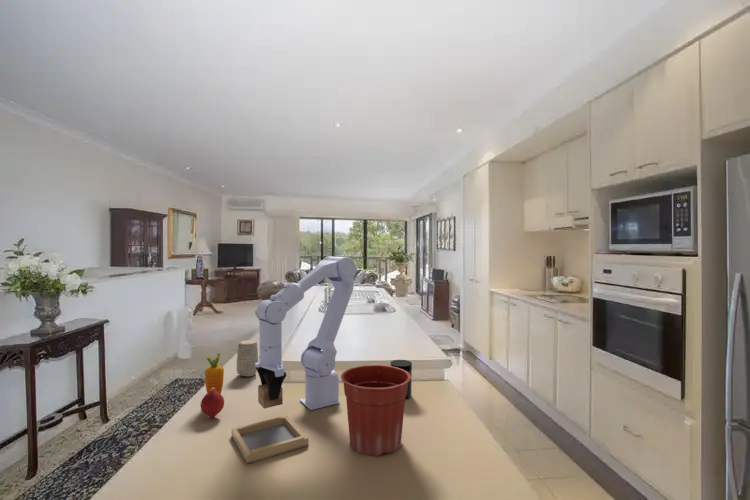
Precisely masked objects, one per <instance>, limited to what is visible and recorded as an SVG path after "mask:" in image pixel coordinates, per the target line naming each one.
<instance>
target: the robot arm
mask: <svg viewBox="0 0 750 500" xmlns="http://www.w3.org/2000/svg"><path fill="white" fill-rule="evenodd" d="M357 271H358V268H357V265H356V262H355V261H354V260H353V258H351V257H350V256H333V255H328V256H326V257H324V258H323V259H322V260H320V261H319V262H318V264H317V265H316V266H315V267H313V269H311V270H310V271H309V272H307V274H306V275H304V276H303V277H302V278H301V279H300V280H299V281H298V282H297V283H296V282H290V283H285V284H283V288H282V289H281V290H279V291H278V292H277V293H276V294H272V295H270V298H269V299H263V301H260V303H258V306H257V307H256V310H255V311H254V314H255V316H256V318H257V320H258V321H259V354H258V363H255V366H256V371H257V372H256V373H257V375H258V376H259V379H260V383H261V384H260V385H263V384H267V386H268V392H269V398H270V400H275V399H278V398H279V394H280V390H281V387H283V386H282V385H283V383H284V380H285V379H286V377H287V372H286V371H284V367H283V357H282V351H283V349H282V339H283V338H282V329H283V328H282V321H284V320H285V318H286V315H287V313H288V312H289V311H290V310H291V309H293V308H294V307H295V306H297V304H299V303H300V302H301V301H303V300H304V296H305V292H307V291H308V290H310V289H311V288H313V287H314V286H317V284H319V283H320V282H321V281H323V280H324V279H328V280H329V282H331V284H332V286H333V288H334V290H333V292H332V295H331V297H330V300H329V302H328V306H327V308H326V310H325V314H324V316H323V319H322V321H321V324H320V327H319V330H318V331H317V334H316V337H315V338H313V339H312V340H311V341H309V342H308V344H307V347H306V348H305V349H304V351H302V354H301V356H300V363H301V365H302V367H303V368H304V372H305V376H304V380H305V381H304V385H305V386H304V389H305V390H304V395H305V396H304V397H303V398H300V399H299V401H300V402H301V403H302V404H303V405H304V406H305V407H307V408H308V409H309V410H311V411H313V410H317V409H321V408H325V407H329V406H333V405H338V404H340V402H341V401H340V400H339V395H340V392H339V391H340V389H339V388H340V385H339V382H340V381H339V380H340V379H339V375H338V373H337V371H336V370H335V365H336V356H337V353H338V352H337V351H338V350H337V349H336V346H335V340H336V338H337V335H338V332H339V330H340V327H341V324H342V321H343V318H344V316H345V313H346V310H347V307H348V304H349V302H350V300H351V296H352V294H353V291H354V286H355V285H354V283H355V276H356V274H357Z"/></svg>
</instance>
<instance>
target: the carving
mask: <svg viewBox="0 0 750 500" xmlns="http://www.w3.org/2000/svg"><path fill="white" fill-rule="evenodd" d="M258 347H259V346H258V342H257V341H256V340H254V339H253V340H252V339H246V340H242V341H239V343H238V345H237V351H236V354H237V355H236V356H237V357H236V374H237V375H238V376H241V377H253V376H256V374H257V373H258V372H257V370H256V366H255V363H258V362H259V350H258Z"/></svg>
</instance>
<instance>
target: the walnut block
mask: <svg viewBox="0 0 750 500" xmlns="http://www.w3.org/2000/svg"><path fill="white" fill-rule="evenodd" d="M257 391H258V392H257V395H258V396H257V398H258V399H257V402H258V404H259V405H260V406H261V407H262V408H263V409H269V408H272V407H277V406H281V405H283V403H284V402H283V401H284V399H283V395H284V394H283V386H281V390H280V394H279V398H278V399H275V400H270V398H269V392H268V386H267V384H263V385H262V384H259V385H257Z"/></svg>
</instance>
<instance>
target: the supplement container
mask: <svg viewBox="0 0 750 500" xmlns="http://www.w3.org/2000/svg"><path fill="white" fill-rule="evenodd" d="M389 364H390V365H389V366H393V367H397V368H400V369H403V370H405V371H407V372H408V373H409V374H410V376H411V379H410V381H409V382H408V389H407V395H406V397H405V401H406V400H409V399H410V398H412V394H413V393H412V391H413V390H412V387H413V384H412V383H413V382H412V380H413V378H412V377H413V376H412V373H413V372H412V371H413V362H412V361H410V360H407V359H394V360H391V361H390V363H389Z"/></svg>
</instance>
